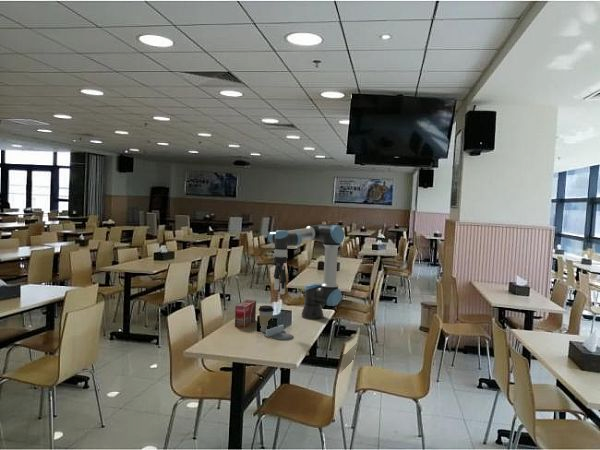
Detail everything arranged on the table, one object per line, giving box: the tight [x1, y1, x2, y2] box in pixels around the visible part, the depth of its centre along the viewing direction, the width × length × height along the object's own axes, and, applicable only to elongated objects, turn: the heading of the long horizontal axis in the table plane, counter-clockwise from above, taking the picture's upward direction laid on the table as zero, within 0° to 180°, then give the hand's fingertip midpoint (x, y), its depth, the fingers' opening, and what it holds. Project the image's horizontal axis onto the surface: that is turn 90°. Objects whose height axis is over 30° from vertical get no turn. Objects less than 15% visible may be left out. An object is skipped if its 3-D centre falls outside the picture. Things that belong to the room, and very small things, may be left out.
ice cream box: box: [234, 299, 257, 329], centre depth 302 cm, size 20×6×13 cm, turn 165°
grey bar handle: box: [263, 324, 286, 338], centre depth 281 cm, size 16×3×4 cm, turn 145°
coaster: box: [272, 332, 294, 341], centre depth 274 cm, size 12×12×1 cm
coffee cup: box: [258, 305, 275, 334], centre depth 286 cm, size 9×9×15 cm
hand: (279, 291), depth 280 cm, fingers open, 13 cm apart
